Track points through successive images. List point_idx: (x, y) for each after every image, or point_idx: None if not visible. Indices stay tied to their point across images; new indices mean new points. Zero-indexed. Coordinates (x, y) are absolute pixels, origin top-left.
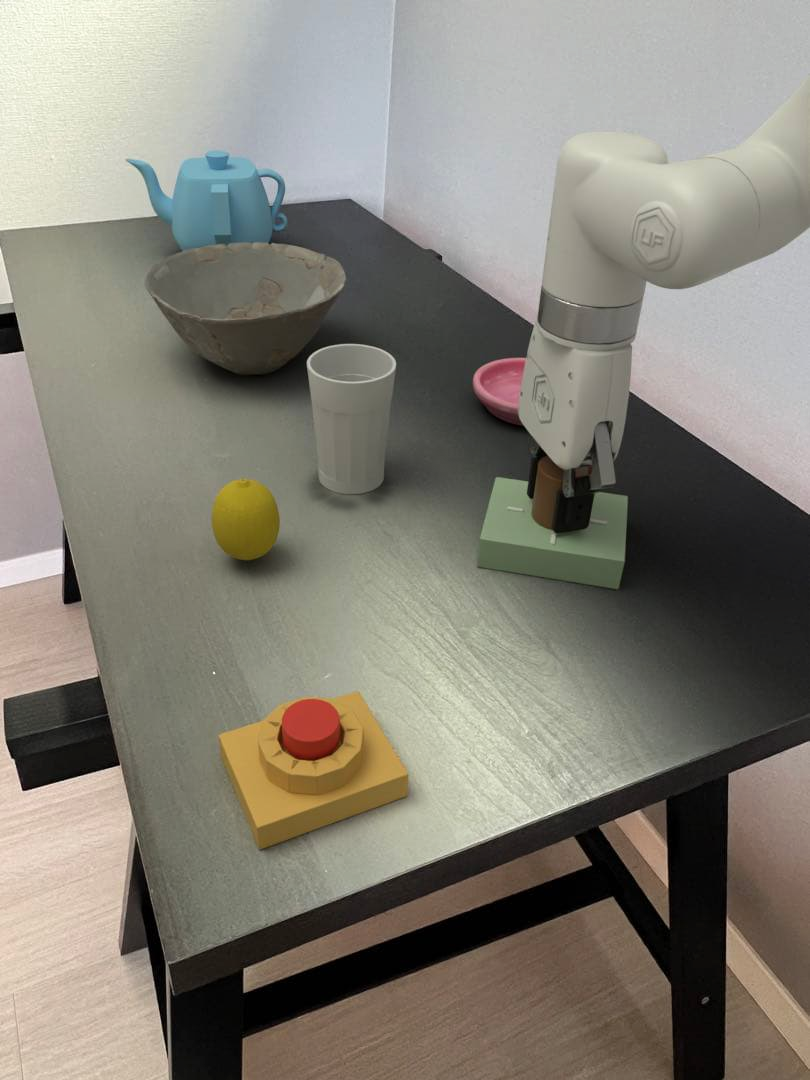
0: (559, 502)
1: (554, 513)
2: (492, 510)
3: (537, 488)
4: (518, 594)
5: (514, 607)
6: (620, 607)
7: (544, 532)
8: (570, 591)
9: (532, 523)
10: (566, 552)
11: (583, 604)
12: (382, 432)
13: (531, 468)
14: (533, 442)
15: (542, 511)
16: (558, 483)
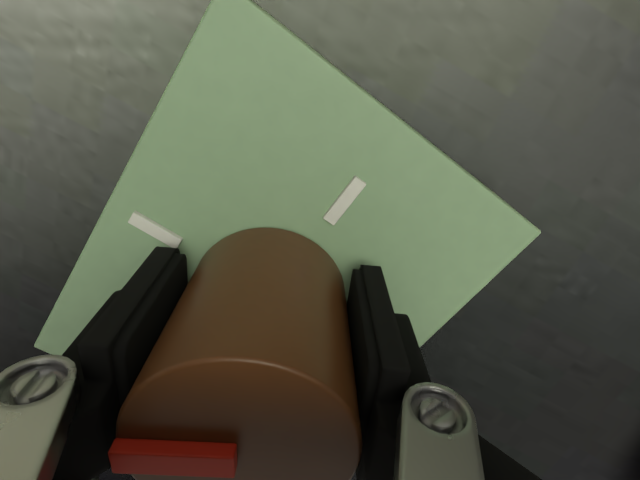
0: (99, 318)
1: (148, 279)
2: (374, 125)
3: (262, 293)
4: (96, 59)
5: (38, 15)
6: (23, 268)
7: (201, 225)
8: (92, 197)
9: (257, 214)
10: (91, 235)
11: (39, 200)
12: None
13: (389, 335)
14: (457, 442)
15: (224, 256)
16: (138, 377)
